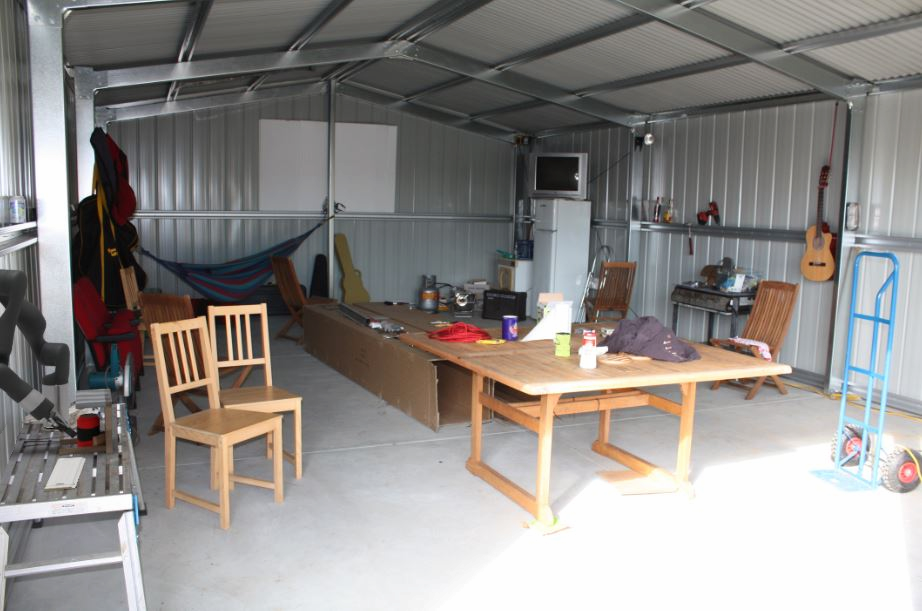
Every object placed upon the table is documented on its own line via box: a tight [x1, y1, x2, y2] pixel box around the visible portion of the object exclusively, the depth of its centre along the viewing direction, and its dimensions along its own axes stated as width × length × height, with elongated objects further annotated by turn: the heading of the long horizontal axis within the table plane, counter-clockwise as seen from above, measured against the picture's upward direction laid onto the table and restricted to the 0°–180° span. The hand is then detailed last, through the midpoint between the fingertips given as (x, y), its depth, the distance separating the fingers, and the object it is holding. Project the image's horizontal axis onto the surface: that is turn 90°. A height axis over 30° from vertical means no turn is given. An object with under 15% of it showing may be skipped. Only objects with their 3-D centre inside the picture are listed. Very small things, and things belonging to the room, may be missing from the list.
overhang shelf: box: [58, 388, 113, 456], centre depth 281 cm, size 20×17×19 cm
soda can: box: [76, 412, 101, 448], centre depth 282 cm, size 8×8×12 cm
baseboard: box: [43, 456, 87, 492], centre depth 255 cm, size 30×3×10 cm
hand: (75, 435), depth 280 cm, fingers closed
